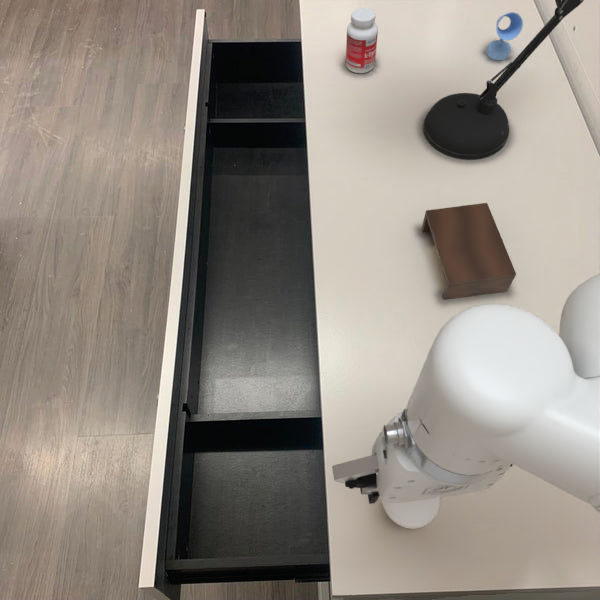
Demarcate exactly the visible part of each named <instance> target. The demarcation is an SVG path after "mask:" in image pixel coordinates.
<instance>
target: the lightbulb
mask: <svg viewBox="0 0 600 600" xmlns="http://www.w3.org/2000/svg"><path fill="white" fill-rule="evenodd" d="M440 498H441V497H440ZM440 498H433V499H425V500H418V501H410V502H401V503H387V502H385V501H383V500H382V499H381V502H382V506H383V509H384V511H385V513H386V514H387V516H388V517H389V518H390V520H391V521H392V522H393V523H395V524H397V525H398V526H400V527H402V528H406V529H411V530H412V529H420V528H423V527H425V526H427V525H429V524H430V523H431V522H432V521H433V520H434V519H435V517H436V516H437V514H438V512H439V509H440V504H441V499H440Z"/></svg>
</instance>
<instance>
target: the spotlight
mask: <svg viewBox="0 0 600 600" xmlns="http://www.w3.org/2000/svg"><path fill="white" fill-rule="evenodd" d="M504 17H507V18H509V22H510V23H509V25H508V26H507V27H506V28H504V29H502V28H500V27H499V24H500V22H501V21H502V19H504ZM523 27H524V20H523V18H522V16H521V15H520V14H519V13H517V12H515V11H511V12H507V13H504V14H503V15H501V16H499V17H498V19H497V20H496V27H495V28H496V29H495V30H496V34H497V36H498V38H499V39H496V40H493V41H490V42H489V44H488V47H487V50H486V55H487V57H488V58H490V59H491V60H494V61H504V60H506V59H508V58H509V56H510V53H511V49H512V46H511V44H510V43H509V42H508V41H511V40H514V39H516V38H517V37H518V36H519V35H520V34H521V32H522V30H523Z"/></svg>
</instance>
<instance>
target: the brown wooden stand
mask: <svg viewBox="0 0 600 600" xmlns="http://www.w3.org/2000/svg"><path fill="white" fill-rule="evenodd" d="M421 225H422V226H421V232H422V234H423V233H424V234H425V233H431V236H432V240H433V242H434V246H435V248H436V252H437V254H438V257H439V261H440V264H441V267H442V270H443V273H444V276H445V279H446V283H445V287H444V289H443V292H442V295H441V297H442V300H445V301H446V300H453V299H461V298H467V297H475V296H482V295H491V294H498V293H505V292H508V290H509V289H510V287H511V285H512V283H513V281H514V280H515V277H516V276H517V272H516V270H515V267H514V265H513V262H512V259H511V258H510V256H509V253H508V250H507V248H506V244H504V241H503V238H502V236H501V233H500V231H499V228H498V226H497V224H496V221H495V219H494V216H493V214H492V211H491V208H490V206H489V204H488V203H487V202H482V203H481V202H480V203H474V204H466V205H465V204H464V205H458V206H450V207H442V208H433V209H427V210H425V213H424V217H423V222H422V224H421Z"/></svg>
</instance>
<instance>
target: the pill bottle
mask: <svg viewBox="0 0 600 600" xmlns="http://www.w3.org/2000/svg"><path fill="white" fill-rule="evenodd" d="M378 33H379V27H378V25H377V23H376V12H375V11H374V10H373V9H371V8H368V7H358V8H356V9H354V10H352V11H351V15H350V23H349V24H348V25H347V27H346V45H345V67H346V68H347V70H349V71H350V72H352V73H354V74H366V73H368V72H370V71H373V69H374V67H375V65H376V56H377V46H378V45H377V44H378V36H379V35H378Z"/></svg>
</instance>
